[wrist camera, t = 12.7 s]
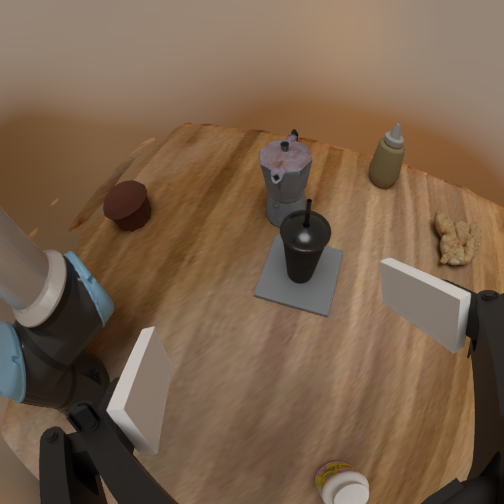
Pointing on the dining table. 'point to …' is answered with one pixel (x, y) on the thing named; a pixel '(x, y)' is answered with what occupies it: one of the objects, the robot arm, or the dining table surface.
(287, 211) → the moka pot
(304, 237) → the drinking cup
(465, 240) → the ginger root
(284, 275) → the slate coaster
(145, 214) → the muffin
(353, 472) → the supplement bottle
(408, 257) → the dining table surface
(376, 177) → the squeeze bottle
